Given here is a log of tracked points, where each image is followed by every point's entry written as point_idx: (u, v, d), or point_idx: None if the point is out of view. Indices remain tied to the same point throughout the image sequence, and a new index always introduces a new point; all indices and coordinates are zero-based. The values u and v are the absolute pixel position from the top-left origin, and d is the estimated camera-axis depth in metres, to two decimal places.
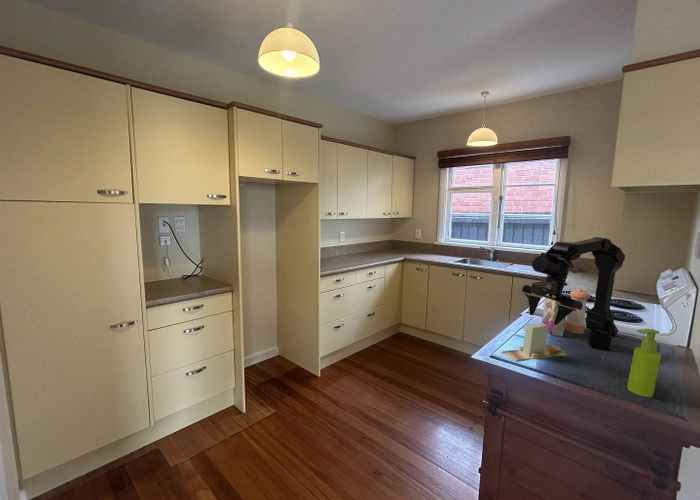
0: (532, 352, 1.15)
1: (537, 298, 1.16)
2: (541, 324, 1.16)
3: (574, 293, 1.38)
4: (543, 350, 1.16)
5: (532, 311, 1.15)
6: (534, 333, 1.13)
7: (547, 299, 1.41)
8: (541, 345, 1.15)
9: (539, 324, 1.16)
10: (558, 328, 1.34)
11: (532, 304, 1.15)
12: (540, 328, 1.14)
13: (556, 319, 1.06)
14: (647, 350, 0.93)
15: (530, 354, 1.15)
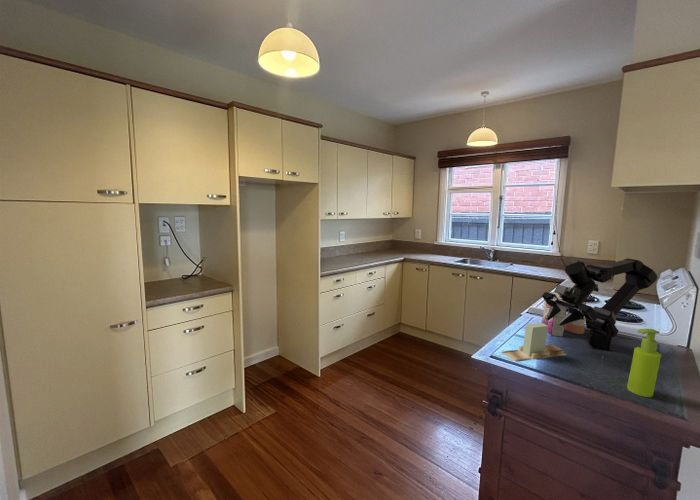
0: (532, 352, 1.15)
1: (558, 308, 1.21)
2: (541, 324, 1.16)
3: None
4: (543, 350, 1.16)
5: (549, 316, 1.19)
6: (534, 333, 1.13)
7: None
8: (541, 345, 1.15)
9: (539, 324, 1.16)
10: (558, 328, 1.34)
11: (552, 310, 1.20)
12: (540, 328, 1.14)
13: (562, 319, 1.14)
14: (647, 350, 0.93)
15: (530, 354, 1.15)
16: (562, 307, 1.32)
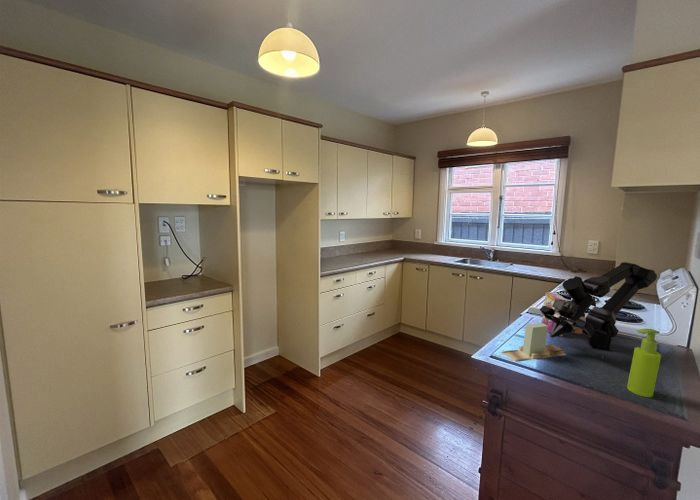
0: (532, 352, 1.15)
1: None
2: (541, 324, 1.16)
3: None
4: (543, 350, 1.16)
5: None
6: (534, 333, 1.13)
7: (547, 299, 1.41)
8: (541, 345, 1.15)
9: (539, 324, 1.16)
10: None
11: (555, 327, 1.18)
12: (540, 328, 1.14)
13: (554, 332, 1.17)
14: (647, 350, 0.93)
15: (530, 354, 1.15)
16: None
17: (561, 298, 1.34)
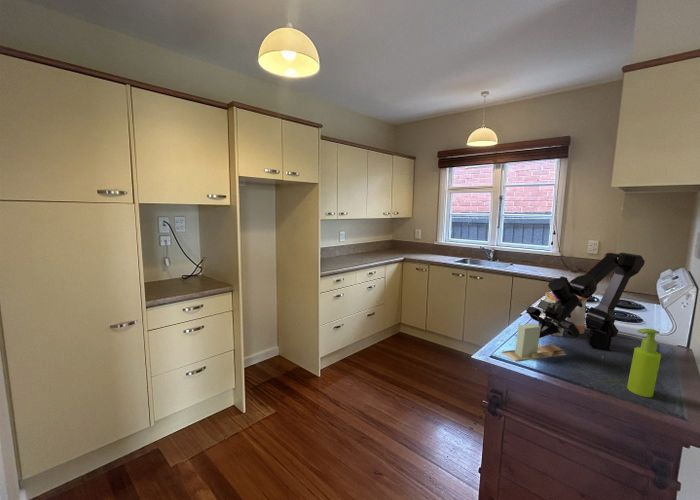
0: (524, 353, 1.14)
1: None
2: (534, 325, 1.15)
3: None
4: (536, 351, 1.15)
5: None
6: (526, 334, 1.12)
7: (547, 299, 1.41)
8: (534, 346, 1.14)
9: (531, 325, 1.15)
10: None
11: (541, 328, 1.16)
12: (532, 329, 1.13)
13: None
14: (647, 350, 0.93)
15: (522, 355, 1.14)
16: None
17: None
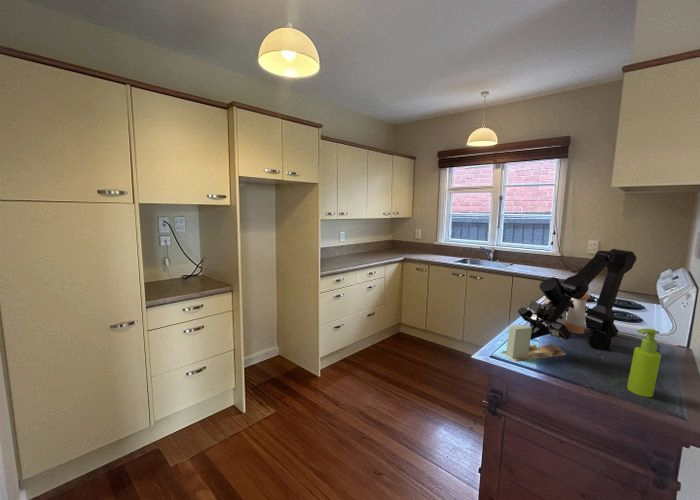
0: (515, 354, 1.13)
1: None
2: (525, 326, 1.14)
3: None
4: (527, 352, 1.14)
5: None
6: (517, 335, 1.11)
7: (547, 299, 1.41)
8: (525, 348, 1.13)
9: (522, 326, 1.14)
10: None
11: (532, 329, 1.15)
12: (523, 330, 1.12)
13: (531, 334, 1.14)
14: (647, 350, 0.93)
15: (513, 356, 1.12)
16: None
17: None
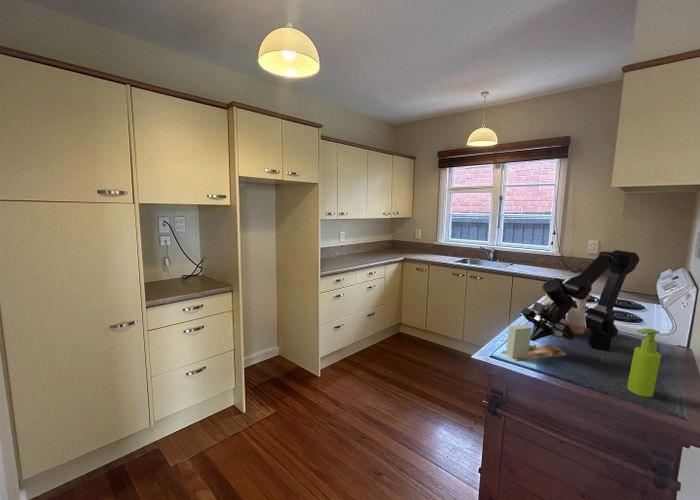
0: (515, 354, 1.13)
1: None
2: (525, 326, 1.14)
3: None
4: (527, 352, 1.14)
5: None
6: (517, 335, 1.11)
7: (547, 299, 1.41)
8: (525, 348, 1.13)
9: (522, 326, 1.14)
10: None
11: (536, 330, 1.16)
12: (523, 330, 1.12)
13: (534, 335, 1.15)
14: (647, 350, 0.93)
15: (513, 356, 1.12)
16: None
17: None
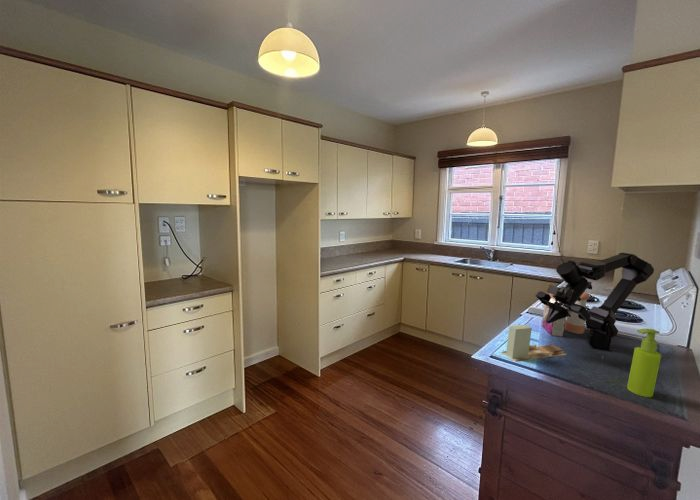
0: (515, 354, 1.13)
1: None
2: (525, 326, 1.14)
3: None
4: (527, 352, 1.14)
5: None
6: (517, 335, 1.11)
7: None
8: (525, 348, 1.13)
9: (522, 326, 1.14)
10: (558, 328, 1.34)
11: (551, 312, 1.17)
12: (523, 330, 1.12)
13: (550, 317, 1.16)
14: (647, 350, 0.93)
15: (513, 356, 1.12)
16: None
17: None
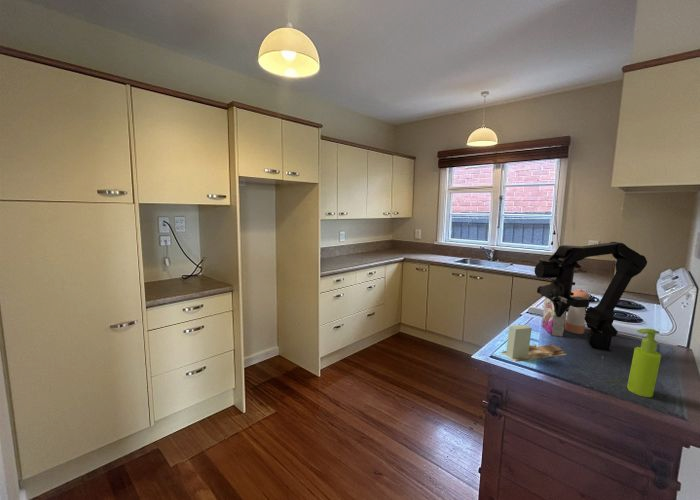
0: (515, 354, 1.13)
1: None
2: (525, 326, 1.14)
3: (574, 293, 1.38)
4: (527, 352, 1.14)
5: None
6: (517, 335, 1.11)
7: (547, 299, 1.41)
8: (525, 348, 1.13)
9: (522, 326, 1.14)
10: (558, 328, 1.34)
11: (557, 307, 1.24)
12: (523, 330, 1.12)
13: (558, 312, 1.23)
14: (647, 350, 0.93)
15: (513, 356, 1.12)
16: None
17: None
